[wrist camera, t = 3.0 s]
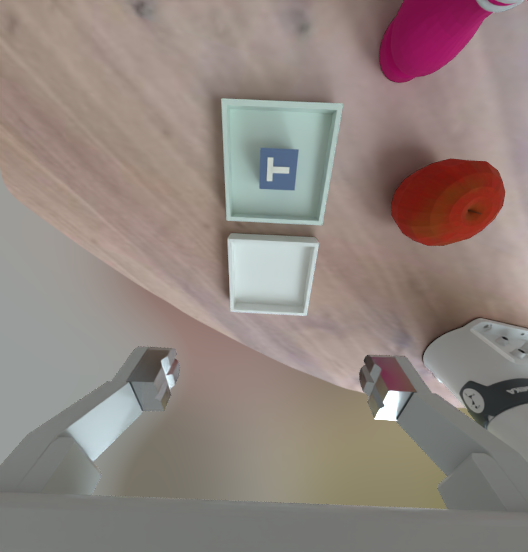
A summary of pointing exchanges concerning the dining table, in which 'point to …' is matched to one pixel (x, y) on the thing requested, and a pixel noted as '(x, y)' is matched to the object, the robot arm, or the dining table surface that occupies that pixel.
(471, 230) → the apple
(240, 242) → the tray offwhite
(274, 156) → the letter cube
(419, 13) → the pepper mill
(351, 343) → the dining table surface
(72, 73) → the dining table surface
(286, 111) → the tray sage
